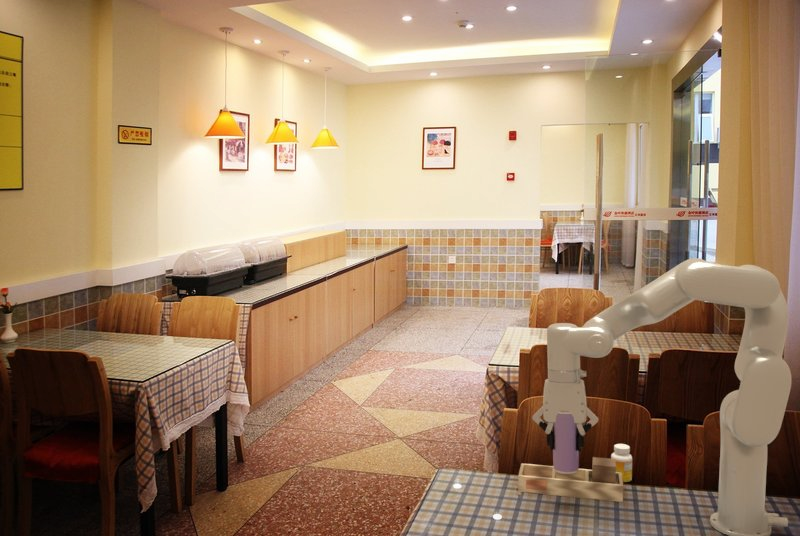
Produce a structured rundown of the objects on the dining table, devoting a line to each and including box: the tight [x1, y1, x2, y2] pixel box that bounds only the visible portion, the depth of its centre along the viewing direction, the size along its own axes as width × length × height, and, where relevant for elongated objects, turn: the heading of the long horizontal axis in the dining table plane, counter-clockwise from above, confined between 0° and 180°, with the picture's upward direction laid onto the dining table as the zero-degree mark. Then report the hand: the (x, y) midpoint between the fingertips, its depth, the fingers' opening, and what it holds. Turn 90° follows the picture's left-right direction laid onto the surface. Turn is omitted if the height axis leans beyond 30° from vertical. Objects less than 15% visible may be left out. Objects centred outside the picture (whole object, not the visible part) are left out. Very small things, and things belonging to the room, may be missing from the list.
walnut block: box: [591, 456, 616, 484], centre depth 178 cm, size 6×6×8 cm
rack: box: [517, 462, 624, 503], centre depth 180 cm, size 25×9×5 cm, turn 75°
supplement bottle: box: [610, 443, 633, 483], centre depth 187 cm, size 5×5×10 cm
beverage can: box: [552, 412, 580, 474], centre depth 170 cm, size 6×6×15 cm
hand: (565, 448), depth 170 cm, fingers closed on beverage can, 5 cm apart
